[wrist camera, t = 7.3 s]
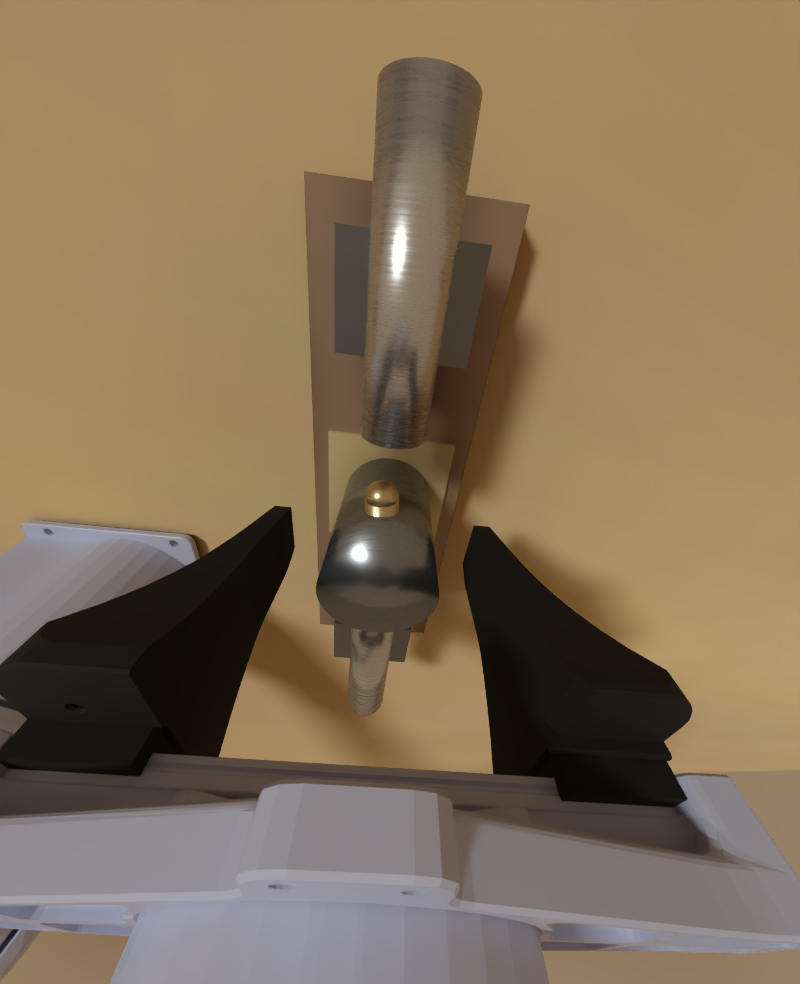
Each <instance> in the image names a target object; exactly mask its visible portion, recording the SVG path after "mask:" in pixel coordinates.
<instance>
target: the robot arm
mask: <svg viewBox="0 0 800 984" xmlns="http://www.w3.org/2000/svg"><path fill="white" fill-rule="evenodd" d="M21 528H22V530H23V532H24V533H25V535H26V536H27V538H26V539H24V540H22V541H21V542H19V543H18V544H16V545H15V546H13V547H11V548H10V549H8V550H7V551H5V552H4V553H2V554H0V981H1V980H2V979H3V978H4V977H5V976H6V975H7V974H8V972H9V971H10V970H11V969H12V968H13V967H14V965H15V964H16V963H17V962H18V960H19V959H20V958H21V957H22V955H23V954H24V953H25V952H26V950H27V949H28V948H29V946H30V945H31V944H32V942H33V941H34V940H35V938H36V937H37V935H38V934H39V933H40V931H54V932H69V933H85V934H100V935H117V936H130V938H129V940H128V942H127V944H126V947H125V949H124V951H123V954H122V956H121V958H120V961H119V963H118V966H117V968H116V970H115V972H114V975H113V977H112V979H111V982H110V984H549V981H548V976H547V971H546V966H545V962H544V957H543V952H542V951H644V952H647V951H648V952H649V951H651V952H652V951H653V952H708V953H711V952H712V953H742V954H752V953H763V952H771V951H772V952H773V951H782V950H792V949H800V879H799V877H798V876H797V875H796V873H795V872H794V870H793V869H792V867H791V866H790V865H789V863H788V861H787V860H786V858H785V857H784V855H783V854H782V852H781V851H780V849H779V848H778V847H777V845H776V844H775V842H774V841H773V839H772V838H771V836H770V835H769V833H768V832H767V830H766V829H765V827H764V826H763V824H762V823H761V821H760V820H759V819H758V817H757V815H756V814H755V812H754V811H753V810H752V808H751V807H750V805H749V804H748V802H747V801H746V799H745V798H744V796H743V795H742V793H741V792H740V790H739V789H738V787H737V786H736V784H735V783H734V781H733V780H732V779H731V777H729V776H727V775H718V774H702V773H682V774H677V775H674V774H673V772H672V770H671V768H670V766H669V765H668V763H667V761H670V760H671V759H672V756H671V753H670V752H669V750H668V748H667V746H666V745H665V743H664V741H665V740H666V739H667V738H669V737H670V736H671V735H673V734H674V733H675V732H676V731H678V730H679V729H680V728H682V727H683V726H684V725H685V724H686V723H687V722H688V721H689V719H690V717H691V714H692V707H691V704H690V702H689V701H688V700H687V698H686V697H685V695H684V694H683V692H682V691H681V690H680V688H679V687H678V685H677V684H676V682H675V681H674V680H673V678H672V677H671V675H670V674H669V673H668V671H667V670H665V669H663V668H662V667H660V666H658V665H656V664H655V663H653V662H651V661H650V660H648V659H646V658H644V657H643V656H641V655H639V654H637V653H636V652H634V651H632V650H630V649H629V648H627V647H625V646H624V645H622V644H621V643H619V642H618V641H616V640H615V639H613V638H611V637H610V636H608V635H607V634H605V633H604V632H602V631H601V630H599V629H598V628H597V627H595V626H594V625H592V624H591V623H589V622H588V621H587V620H585V619H584V618H583V617H581V616H580V615H579V614H577V613H576V612H575V611H573V610H572V609H571V608H570V607H568V606H567V605H566V604H565V603H563V602H562V601H561V600H560V599H559V598H557V597H556V596H555V595H554V594H553V593H552V592H550V591H549V590H548V589H547V588H546V587H545V586H544V585H543V584H542V583H541V582H540V581H539V580H537V579H536V578H535V577H534V576H533V575H532V574H531V573H530V572H529V571H528V570H527V569H526V568H525V567H524V565H523V564H522V563H521V562H520V561H519V560H518V559H517V558H516V557H515V556H514V555H513V554H512V552H511V551H510V550H509V549H508V548H507V547H506V546H505V544H504V543H503V542H502V541H501V540H500V539H499V538H498V536H497V535H496V534H495V533H494V532H493V531H492V530H491V528H490V527H484V526H474V527H473V531H472V534H471V538H470V541H469V544H468V548H467V551H466V554H465V558H464V561H463V569H464V579H465V587H466V591H467V596H468V600H469V604H470V608H471V612H472V616H473V620H474V624H475V629H476V633H477V637H478V641H479V646H480V652H481V659H482V666H483V673H484V681H485V689H486V698H487V707H488V717H489V727H490V737H491V750H492V763H493V774H481V773H465V772H449V771H433V770H416V769H400V768H384V767H368V766H351V765H335V764H319V763H303V762H287V761H270V760H254V759H238V758H222V757H219V754H220V750H221V747H222V743H223V740H224V737H225V733H226V730H227V726H228V723H229V719H230V716H231V713H232V710H233V707H234V703H235V700H236V697H237V694H238V691H239V687H240V684H241V681H242V678H243V675H244V672H245V669H246V666H247V663H248V660H249V658H250V655H251V652H252V649H253V646H254V644H255V641H256V638H257V635H258V632H259V630H260V628H261V625H262V623H263V621H264V619H265V616H266V614H267V612H268V610H269V608H270V606H271V604H272V602H273V600H274V598H275V595H276V593H277V591H278V589H279V587H280V585H281V583H282V581H283V579H284V576H285V574H286V572H287V570H288V567H289V564H290V561H291V557H292V554H293V551H294V548H295V546H294V535H293V523H292V512H291V507H281V506H274V507H273V508H272V509H270V510H269V511H268V512H266V513H265V514H264V515H262V516H261V517H260V518H258V519H257V520H256V521H254V522H253V523H252V524H250V525H249V526H248V527H246V528H245V529H244V530H242V531H241V532H239V533H238V534H237V535H235V536H234V537H232V538H231V539H229V540H228V541H226V542H225V543H223V544H222V545H220V546H219V547H217V548H216V549H214V550H212V551H211V552H209V553H208V554H206V555H204V556H203V557H201V558H200V556H199V553H198V550H197V547H196V543H195V541H194V539H193V538H192V537H191V536H189V535H186V534H177V533H166V532H156V531H145V530H134V529H124V528H113V527H103V526H92V525H82V524H71V523H61V522H50V521H39V520H28V521H26V522H25V523H23V524H21Z"/></svg>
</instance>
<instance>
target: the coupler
mask: <svg viewBox="0 0 800 984" xmlns="http://www.w3.org/2000/svg"><path fill="white" fill-rule="evenodd" d="M316 594H317V598H318V600H319V602H320V604H321V606H322V607H323V609H324V610H325V611H326V612H327V613H328V614H329V615H330V616H331V617H332V618H334V619H335V620H337V621H338V622H340V623H342V624H344V625H346V626H349V627H351V628H355V629H358V630H362V631H368V632H378V633H381V632H395V631H400V630H404V629H407V628H410V627H413V626H415V625H417V624H419V623H420V622H422V621H424V620H425V619H426V618H427V617H428V616H429V615H430V614H431V613H432V612H433V611H434V609H435V607H436V605H437V603H438V599H439V588H438V578H437V569H436V559H435V550H434V540H433V531H432V522H431V512H430V503H429V493H428V487H427V484H426V481H425V479H424V478H423V476H422V475H421V473H420V472H419V471H418V470H417V469H415V468H414V467H413V466H411V465H410V464H408V463H406V462H403V461H400V460H396V459H389V458H382V459H375V460H372V461H369V462H367V463H365V464H363V465H361V466H360V467H359V468H357V469H356V470H355V471H354V472H353V474H352V475H351V476H350V478H349V480H348V483H347V487H346V490H345V493H344V496H343V499H342V503H341V506H340V509H339V512H338V516H337V519H336V522H335V525H334V529H333V532H332V535H331V538H330V542H329V545H328V548H327V551H326V554H325V558H324V561H323V564H322V567H321V571H320V574H319V577H318V580H317V585H316Z"/></svg>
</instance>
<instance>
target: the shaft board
mask: <svg viewBox="0 0 800 984" xmlns="http://www.w3.org/2000/svg"><path fill="white" fill-rule="evenodd" d="M304 180H305V208H306V236H307V264H308V292H309V320H310V348H311V376H312V404H313V432H314V460H315V488H316V516H317V544H318V572H319V574H320V571H321V567H322V564H323V561H324V558H325V554H326V551H327V548H328V545H329V542H330V538H331V535H332V532H333V529H334V525H335V522H336V519H337V516H338V512H339V509H340V506H341V503H342V499H343V496H344V493H345V490H346V487H347V483H348V480H349V478H350V476H351V475H352V474H353V472H354V471H355V470H356V469H357V468H359V467H360V466H361V465H363V464H365V463H367V462H369V461H372V460H375V459H382V458H389V459H396V460H400V461H403V462H406V463H408V464H410V465H411V466H413V467H414V468H415V469H417V470H418V471H419V472H420V473H421V475H422V476H423V478H424V479H425V481H426V484H427V487H428V493H429V503H430V512H431V522H432V531H433V540H434V550H435V559H436V569H437V577H438V573H439V569H440V565H441V561H442V557H443V553H444V549H445V545H446V541H447V537H448V533H449V529H450V525H451V521H452V517H453V513H454V509H455V505H456V501H457V497H458V493H459V489H460V485H461V481H462V477H463V473H464V469H465V465H466V460H467V456H468V452H469V448H470V444H471V440H472V436H473V432H474V428H475V424H476V420H477V416H478V412H479V408H480V404H481V400H482V396H483V392H484V388H485V384H486V380H487V376H488V372H489V368H490V364H491V360H492V356H493V352H494V348H495V344H496V340H497V336H498V332H499V328H500V323H501V319H502V315H503V311H504V307H505V303H506V299H507V295H508V291H509V287H510V283H511V279H512V275H513V271H514V267H515V263H516V259H517V255H518V251H519V247H520V243H521V239H522V235H523V231H524V227H525V223H526V219H527V215H528V211H529V207H530V205H529V204H522V203H516V202H509V201H502V200H495V199H488V198H482V197H475V196H468V195H466V198H465V204H464V210H463V216H462V222H461V228H460V234H459V240H460V241H467V242H474V243H481V244H488V245H492V250H491V255H490V259H489V264H488V269H487V274H486V278H485V283H484V288H483V292H482V297H481V302H480V307H479V311H478V316H477V321H476V326H475V330H474V335H473V340H472V344H471V349H470V354H469V359H468V363H467V368H466V369H464V368H455V367H447V366H439V365H438V367H437V373H436V379H435V386H434V392H433V398H432V404H431V410H430V416H429V422H428V428H427V434H426V440H425V443H424V444H423V445H421V446H419V447H416V448H411V449H390V448H384V447H380V446H376V445H374V444H371V443H369V442H367V441H366V440H364V439H363V438H362V436H361V416H362V395H363V374H364V356H357V355H349V354H341V353H335V223H339V224H346V225H353V226H360V227H367V228H371V207H372V187H373V181H366V180H360V179H353V178H346V177H339V176H332V175H326V174H319V173H312V172H305V171H304ZM427 618H428V617H427ZM427 618H426V619H425V620H424V621H422V622H420V623H419V624H417V625H415V626H413V627H411V632H422V633H424V630H425V626H426V622H427ZM334 622H335V619H334V618H332V617H331V616H330V615H329V614H328V613H327V612H326V611H325V610H324V609H323V607H322V606H321V604H320V624H326V625H334Z"/></svg>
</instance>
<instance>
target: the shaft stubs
mask: <svg viewBox="0 0 800 984" xmlns="http://www.w3.org/2000/svg"><path fill="white" fill-rule="evenodd" d="M481 101H482V89H481V86H480V84H479V83H478V81H477V80H476V79H475V78H474V77H473V76H472V75H471V74H470V73H469V72H467V71H466V70H464V69H463V68H461V67H459V66H457V65H454V64H452V63H449V62H446V61H443V60H439V59H434V58H426V57H413V58H405V59H401V60H397V61H394V62H392V63H390V64H388V65H387V66H386V67H384V68H383V69H382V71H381V72H380V74H379V76H378V83H377V103H376V124H375V145H374V166H373V187H372V207H371V228H367V227H360V226H353V225H346V224H339V223H335V353H341V354H349V355H357V356H364V374H363V395H362V416H361V436H362V438H363V439H364V440H366V441H367V442H369V443H371V444H374V445H376V446H380V447H384V448H390V449H411V448H416V447H419V446H421V445H423V444H424V443H425V440H426V434H427V428H428V422H429V416H430V410H431V404H432V398H433V392H434V386H435V379H436V373H437V367H438V365H439V366H447V367H455V368H464V369H466V368H467V363H468V359H469V354H470V349H471V344H472V340H473V335H474V330H475V326H476V321H477V316H478V311H479V307H480V302H481V297H482V292H483V288H484V283H485V278H486V274H487V269H488V264H489V259H490V255H491V250H492V245H488V244H481V243H474V242H467V241H460V240H459V234H460V228H461V222H462V216H463V210H464V204H465V198H466V192H467V186H468V180H469V174H470V168H471V162H472V156H473V150H474V144H475V137H476V131H477V125H478V119H479V113H480V107H481ZM410 633H411V627H410V628H407V629H404V630H400V631H395V632H381V633H378V632H368V631H362V630H358V629H355V628H351V627H349V626H346V625H344V624H342V623H340V622H338V621H337V620H335V622H334V657H346V658H350V666H349V686H348V702H349V705H350V707H351V709H352V710H353V711H354V712H355V713H357V714H359V715H363V716H366V715H371V714H373V713H374V712H376V711H377V710H378V709H379V707H380V706H381V703H382V700H383V694H384V688H385V682H386V676H387V670H388V664H389V661H396V662H404V661H405V656H406V652H407V647H408V642H409V637H410Z"/></svg>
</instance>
